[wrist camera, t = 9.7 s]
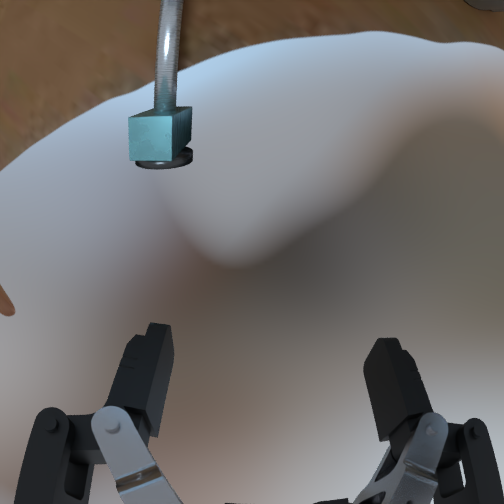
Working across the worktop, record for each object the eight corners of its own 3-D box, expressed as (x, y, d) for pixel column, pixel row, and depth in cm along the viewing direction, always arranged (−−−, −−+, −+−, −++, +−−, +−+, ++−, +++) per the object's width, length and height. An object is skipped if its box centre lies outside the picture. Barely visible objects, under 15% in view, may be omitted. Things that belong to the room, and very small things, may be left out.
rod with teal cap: (212, -22, 22) (198, -51, 14) (199, 151, 33) (182, 175, 26) (159, -18, 21) (131, -42, 14) (150, 150, 33) (120, 174, 25)
